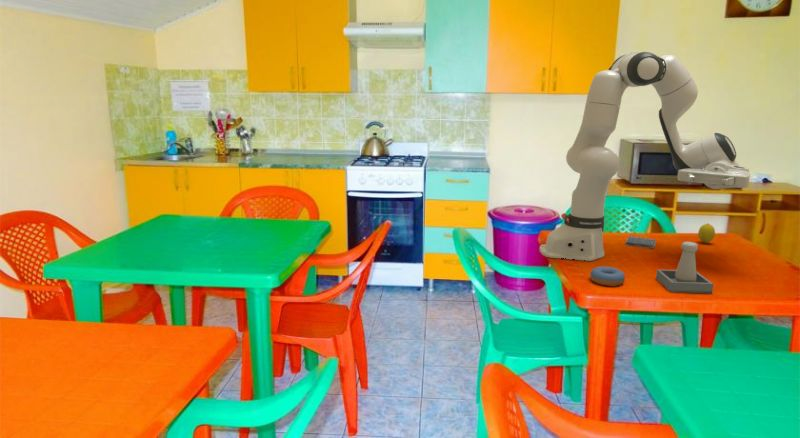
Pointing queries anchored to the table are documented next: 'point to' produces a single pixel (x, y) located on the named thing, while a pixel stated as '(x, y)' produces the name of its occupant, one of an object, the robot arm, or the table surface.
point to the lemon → (706, 233)
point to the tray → (684, 283)
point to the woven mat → (641, 242)
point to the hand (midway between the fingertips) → (707, 180)
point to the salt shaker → (687, 263)
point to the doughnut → (607, 276)
